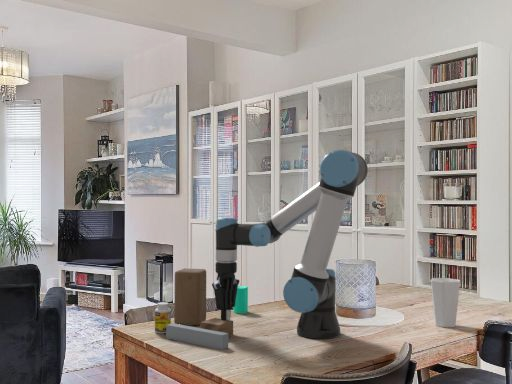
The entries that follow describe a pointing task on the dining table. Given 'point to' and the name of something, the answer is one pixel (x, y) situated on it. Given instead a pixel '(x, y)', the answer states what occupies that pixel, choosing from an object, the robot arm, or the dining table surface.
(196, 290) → the wooden block
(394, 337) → the dining table surface
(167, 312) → the supplement bottle
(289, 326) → the dining table surface
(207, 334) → the board
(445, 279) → the cup
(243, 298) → the candle
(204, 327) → the walnut block
